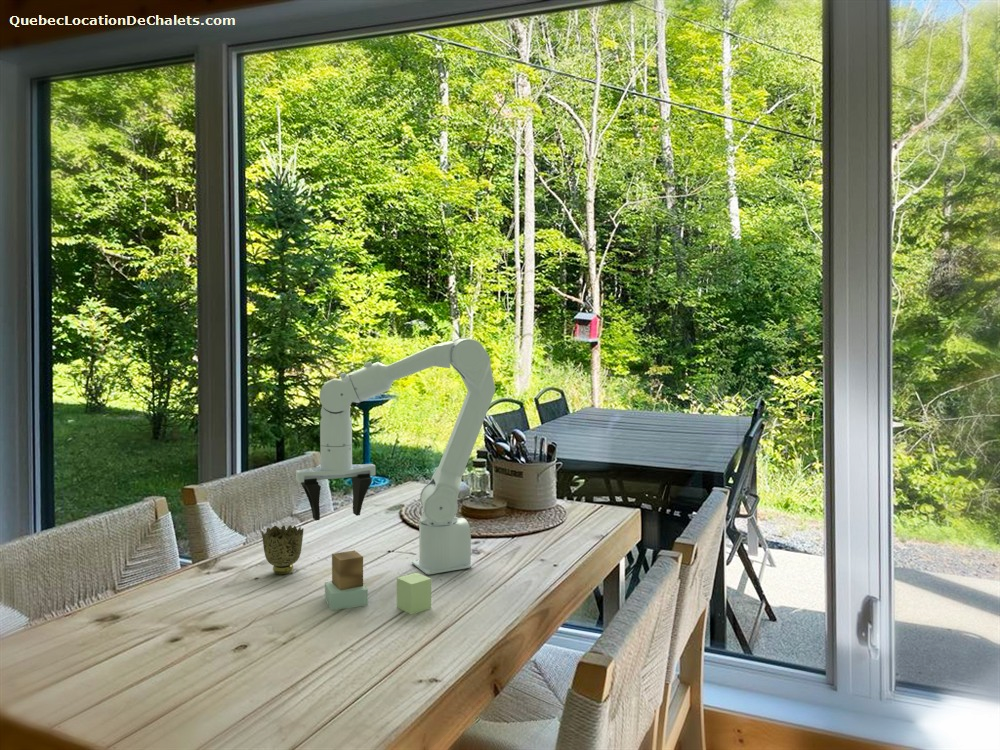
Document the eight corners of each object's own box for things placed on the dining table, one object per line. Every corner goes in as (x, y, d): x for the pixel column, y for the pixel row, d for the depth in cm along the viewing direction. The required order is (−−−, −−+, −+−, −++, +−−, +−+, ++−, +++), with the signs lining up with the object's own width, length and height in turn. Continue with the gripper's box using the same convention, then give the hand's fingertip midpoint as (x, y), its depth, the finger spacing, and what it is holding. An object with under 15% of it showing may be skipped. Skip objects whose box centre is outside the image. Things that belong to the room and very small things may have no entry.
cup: (292, 580, 137) (291, 537, 137) (254, 577, 139) (254, 534, 138) (310, 567, 145) (310, 526, 144) (274, 564, 146) (274, 523, 145)
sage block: (416, 601, 128) (416, 572, 128) (431, 608, 125) (431, 578, 125) (396, 607, 125) (397, 577, 125) (411, 614, 123) (411, 584, 122)
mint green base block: (360, 594, 132) (360, 577, 132) (367, 607, 126) (367, 589, 126) (325, 599, 130) (324, 582, 129) (331, 612, 124) (330, 594, 124)
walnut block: (354, 578, 131) (354, 550, 131) (363, 586, 128) (363, 556, 127) (332, 582, 129) (331, 553, 129) (340, 590, 126) (340, 560, 125)
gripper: (366, 438, 148) (366, 507, 149) (291, 443, 141) (292, 516, 142) (379, 444, 142) (379, 515, 143) (301, 449, 135) (301, 525, 136)
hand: (336, 516), depth 142 cm, fingers open, 7 cm apart
